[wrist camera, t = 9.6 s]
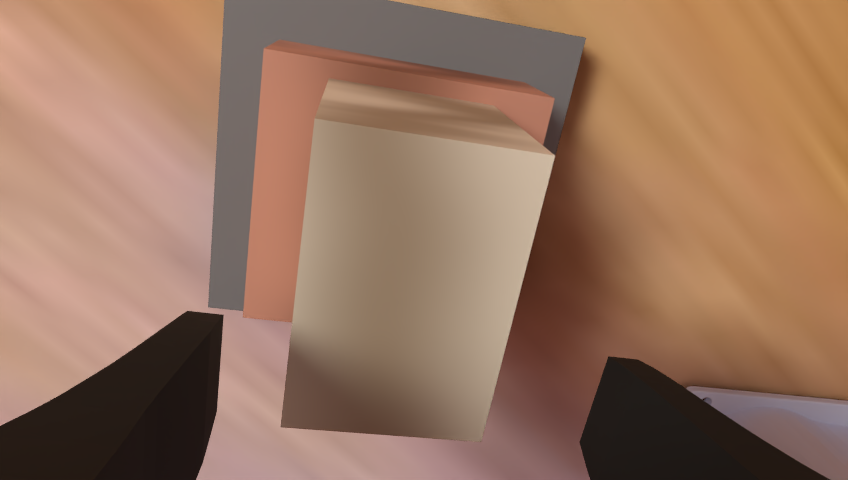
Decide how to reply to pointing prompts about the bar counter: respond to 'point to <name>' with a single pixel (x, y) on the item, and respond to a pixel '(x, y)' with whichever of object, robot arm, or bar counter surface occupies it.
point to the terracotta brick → (292, 140)
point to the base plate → (366, 34)
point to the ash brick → (409, 262)
